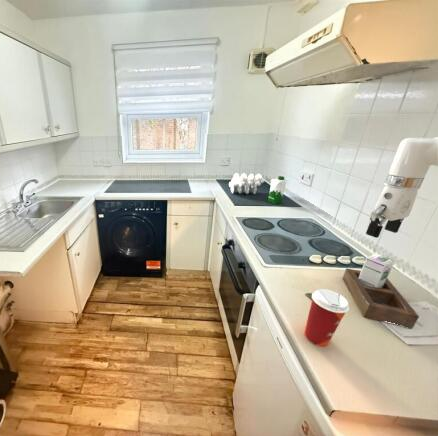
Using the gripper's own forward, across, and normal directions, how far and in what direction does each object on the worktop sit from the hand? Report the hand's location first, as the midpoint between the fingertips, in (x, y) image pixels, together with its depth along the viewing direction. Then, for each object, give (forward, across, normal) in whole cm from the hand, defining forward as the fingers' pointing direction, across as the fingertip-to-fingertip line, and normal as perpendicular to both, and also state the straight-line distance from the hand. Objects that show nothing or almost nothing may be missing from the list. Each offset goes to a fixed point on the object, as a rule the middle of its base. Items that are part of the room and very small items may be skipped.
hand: (381, 233), depth 77 cm
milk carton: (+25, +56, +90) cm, 109 cm away
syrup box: (+26, +6, 0) cm, 26 cm away
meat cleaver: (+25, -18, +2) cm, 31 cm away
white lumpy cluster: (+25, +51, +118) cm, 131 cm away
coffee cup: (+25, -31, -8) cm, 41 cm away
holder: (+25, +3, -4) cm, 26 cm away
